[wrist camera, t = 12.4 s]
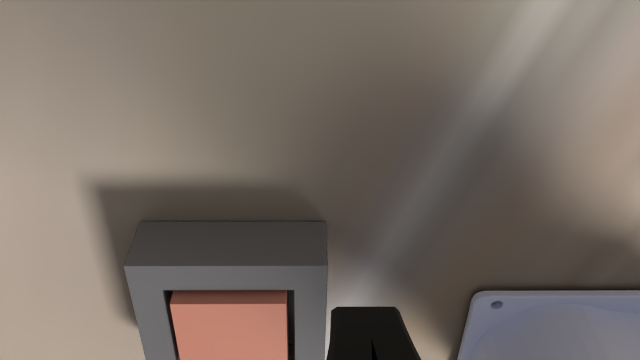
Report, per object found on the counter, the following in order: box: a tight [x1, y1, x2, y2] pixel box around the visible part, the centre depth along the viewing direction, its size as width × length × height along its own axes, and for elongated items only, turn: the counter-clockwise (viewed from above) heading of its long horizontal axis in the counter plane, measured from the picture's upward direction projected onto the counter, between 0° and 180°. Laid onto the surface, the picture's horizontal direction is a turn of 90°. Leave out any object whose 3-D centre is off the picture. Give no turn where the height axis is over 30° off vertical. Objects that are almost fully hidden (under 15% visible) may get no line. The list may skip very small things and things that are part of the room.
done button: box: [170, 290, 288, 360], centre depth 23 cm, size 4×4×2 cm
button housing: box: [124, 221, 328, 360], centre depth 24 cm, size 7×7×2 cm
